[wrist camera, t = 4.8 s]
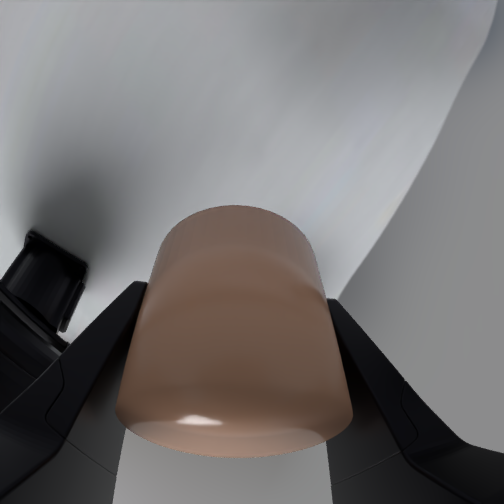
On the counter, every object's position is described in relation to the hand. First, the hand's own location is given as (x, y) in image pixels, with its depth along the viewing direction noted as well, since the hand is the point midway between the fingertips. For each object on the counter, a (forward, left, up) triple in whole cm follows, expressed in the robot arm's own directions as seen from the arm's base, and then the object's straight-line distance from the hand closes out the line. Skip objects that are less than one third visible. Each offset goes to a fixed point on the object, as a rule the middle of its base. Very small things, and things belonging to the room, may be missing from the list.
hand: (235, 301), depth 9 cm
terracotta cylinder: (0, 0, -1) cm, 1 cm away
